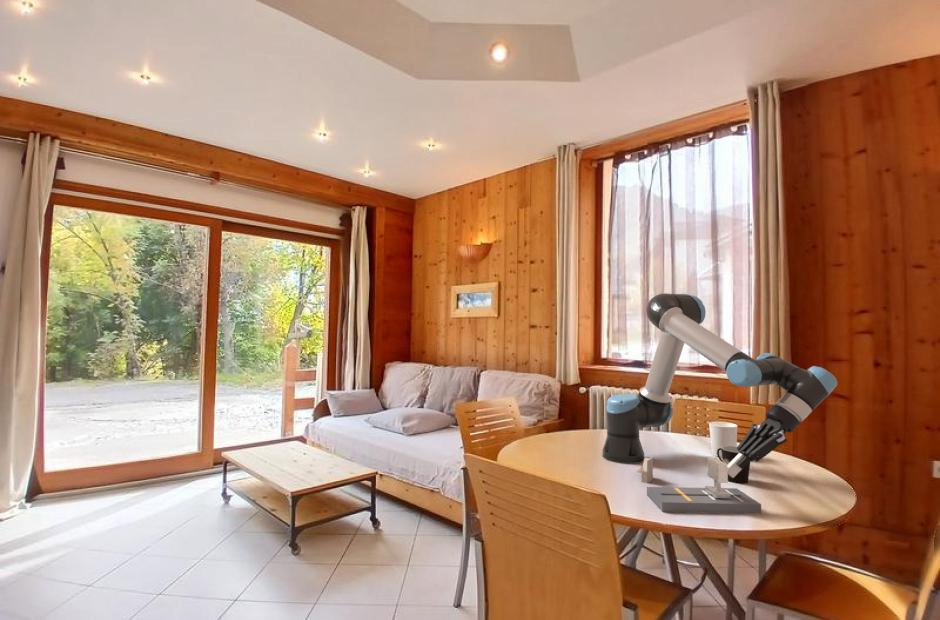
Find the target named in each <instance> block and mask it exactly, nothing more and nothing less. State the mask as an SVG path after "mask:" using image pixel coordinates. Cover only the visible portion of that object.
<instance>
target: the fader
mask: <svg viewBox="0 0 940 620" xmlns="http://www.w3.org/2000/svg"><path fill="white" fill-rule="evenodd" d="M706 459H707V460H706V461H707V476H708V477H709V478H711V479H712V480H713V482H714V486H713V485H705V487H704V488H705V490H706V491H707V492H708V493H710V494H711V495H712V496H714V497H715V498H731V494H730V493H728V492H727V491H725V490H724V489H723V488H724V487H722V485H721V484H728V483H729V481H728V469H727V464H726V463H724V462H722V461H723V460H722V461H720V459H719V458H718V457H717V458H716V457H707V458H706Z"/></svg>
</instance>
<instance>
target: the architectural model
mask: <svg viewBox="0 0 940 620" xmlns="http://www.w3.org/2000/svg"><path fill="white" fill-rule="evenodd" d="M653 459H654V457H653V456H651V457H649V458H648V457H644V461H642V462H643V464H642V466H641V467H640V468H638V469H637V470H636V473H641V483H645V484H648V483H650V482H651V481H652V480H653V479H654V477H653V476H654V475H653V474H654V473H653V472H654V467H653V464H654V461H653Z"/></svg>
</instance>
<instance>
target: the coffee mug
mask: <svg viewBox="0 0 940 620" xmlns="http://www.w3.org/2000/svg"><path fill="white" fill-rule="evenodd" d="M737 447H738V446H723V447H721V448H719V449H718V450H717V455H718V457H717V459H719V460H720V461H722V462H724V463H726V464H727V465H728V464H729V463H730V462H731V461H732V460H733V459H734V458H735V457H736V456H737V455H738V454H739V451H738V450H737ZM720 450H721V451H722V458H721V457H720V456H719V451H720ZM750 467H751V461H750V462H749V463H748V464H747V465H746V466H745V467H744V468H743V469H742V470H741V471H740V472H739V473H738V474H737V475H736V476H735V477H734V478H732V477H731V476H729V475H728V483H729V482H730V483H733V484H738V485H743V484H744V485H746V484H748V483H749V477H750Z"/></svg>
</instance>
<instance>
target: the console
mask: <svg viewBox="0 0 940 620" xmlns="http://www.w3.org/2000/svg"><path fill="white" fill-rule="evenodd" d="M722 488H723V489H724V490H725V491H727V492H728V493H730V494H731V498H715V497H714V496H712V495H711V494H710V493H708V492H707V491H706V490H705V487H684V486H683V487H682V486H681V487H679V486H677V487H675V486H674V487H672V486H669V487H668V486H646V496H647V498H649V500H651V501H652V503H654V505H656V507H657V508H658V509H659V510H660V511H661V512H662V513H700V514H702V513H705V514H707V513H709V514H713V513H714V514H754V515H755V514H756V515H757V514H759V515H761V514H762V504H761V503H760V501H759V502H758V501H757V500H755V499H754V498H752V497H751V496H749V495H748V494H746V493H745V492H743V491H741V490H740V489H739V488H735V487H734V488H733V487H732V488H730V487H729V488H728V487H722Z"/></svg>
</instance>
